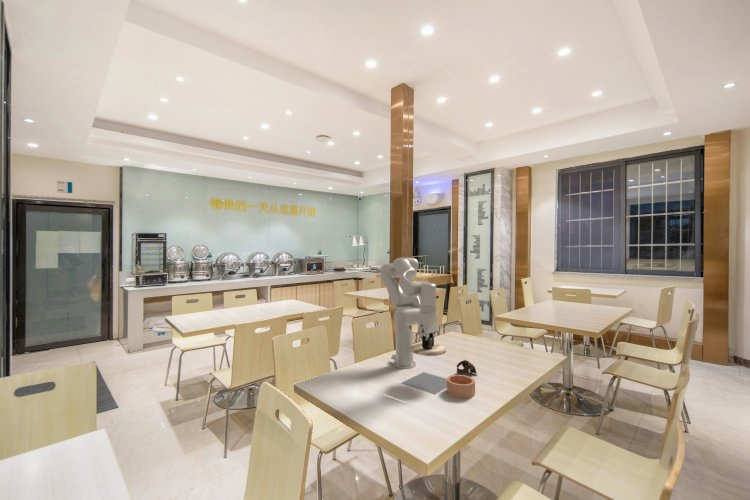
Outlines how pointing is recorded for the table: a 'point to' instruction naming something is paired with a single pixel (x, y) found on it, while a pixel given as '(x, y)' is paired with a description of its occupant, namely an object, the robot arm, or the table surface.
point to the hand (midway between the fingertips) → (428, 346)
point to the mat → (427, 383)
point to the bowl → (460, 386)
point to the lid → (430, 351)
